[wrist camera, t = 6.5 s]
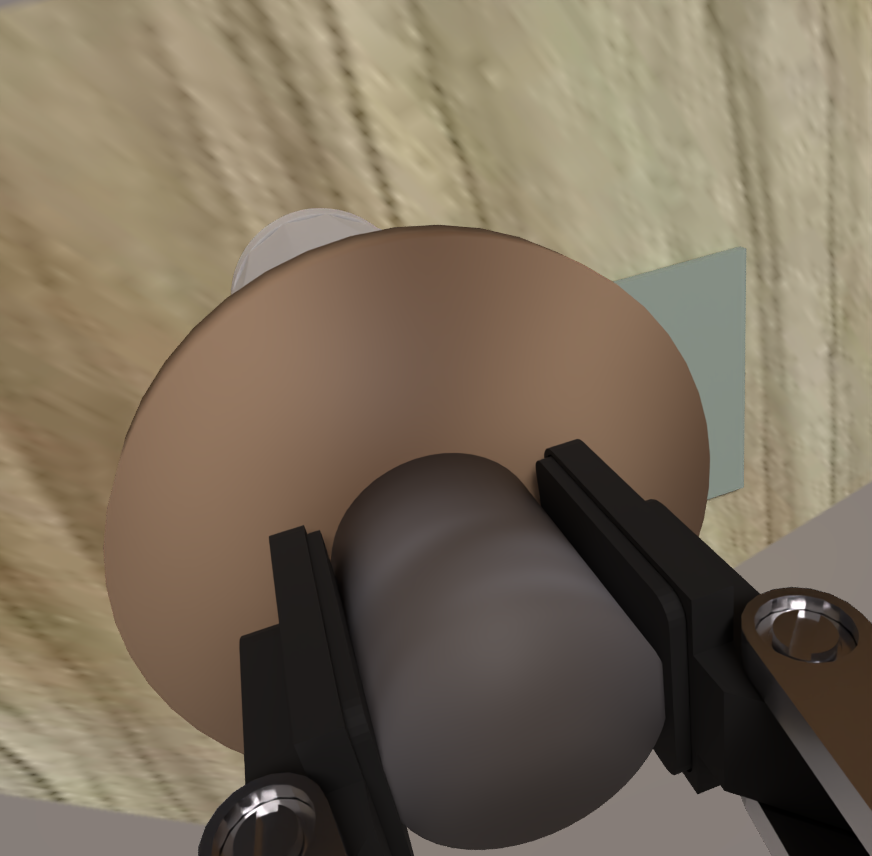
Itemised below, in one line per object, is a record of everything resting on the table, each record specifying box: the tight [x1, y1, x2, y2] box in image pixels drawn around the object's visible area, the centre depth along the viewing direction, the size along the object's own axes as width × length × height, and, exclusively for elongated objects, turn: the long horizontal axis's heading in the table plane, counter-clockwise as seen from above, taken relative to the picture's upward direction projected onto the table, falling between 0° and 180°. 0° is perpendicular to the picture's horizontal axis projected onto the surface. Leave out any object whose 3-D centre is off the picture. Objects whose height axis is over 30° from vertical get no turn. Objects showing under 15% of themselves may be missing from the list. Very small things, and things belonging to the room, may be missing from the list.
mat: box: [614, 247, 746, 500], centre depth 31 cm, size 12×12×1 cm
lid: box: [103, 225, 710, 850], centre depth 11 cm, size 10×10×5 cm
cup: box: [231, 208, 381, 295], centre depth 21 cm, size 8×8×12 cm
